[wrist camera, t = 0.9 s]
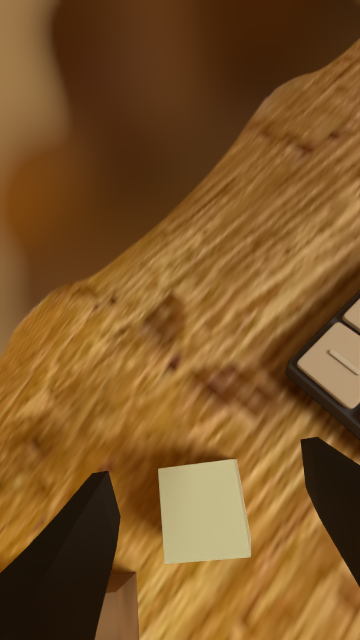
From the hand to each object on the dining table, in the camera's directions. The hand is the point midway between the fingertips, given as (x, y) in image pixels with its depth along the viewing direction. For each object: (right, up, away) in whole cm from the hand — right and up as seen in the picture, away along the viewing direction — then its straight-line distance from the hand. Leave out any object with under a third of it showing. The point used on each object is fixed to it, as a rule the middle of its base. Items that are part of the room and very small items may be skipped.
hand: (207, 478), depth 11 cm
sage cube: (+1, -8, +12) cm, 14 cm away
